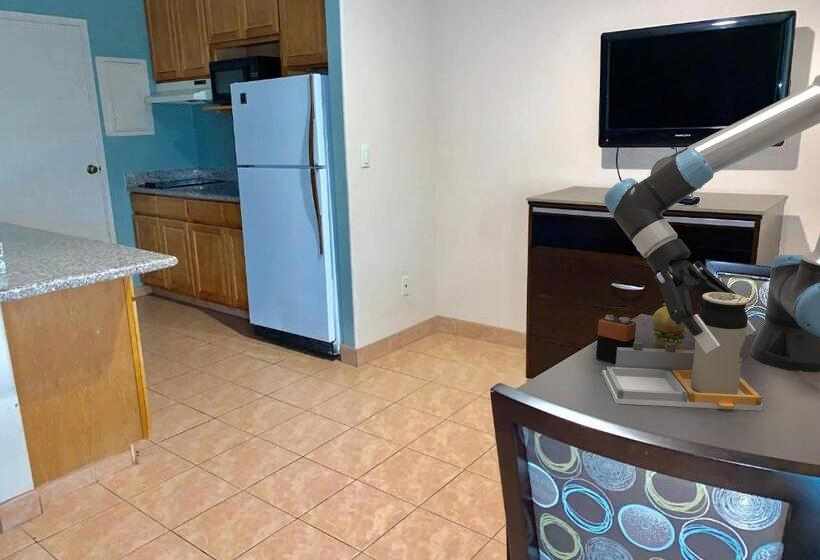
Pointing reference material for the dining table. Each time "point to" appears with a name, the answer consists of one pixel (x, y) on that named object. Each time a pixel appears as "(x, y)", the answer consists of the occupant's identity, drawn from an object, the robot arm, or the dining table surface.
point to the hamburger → (667, 330)
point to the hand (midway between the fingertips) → (732, 341)
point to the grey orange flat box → (668, 381)
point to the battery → (614, 337)
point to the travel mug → (721, 344)
